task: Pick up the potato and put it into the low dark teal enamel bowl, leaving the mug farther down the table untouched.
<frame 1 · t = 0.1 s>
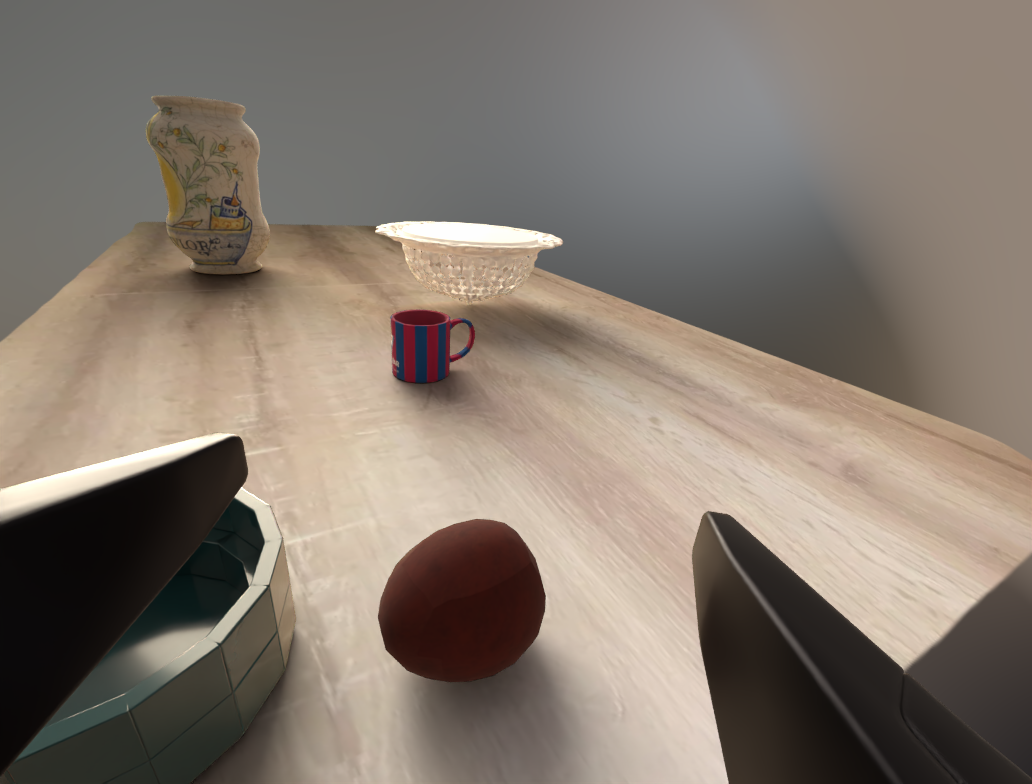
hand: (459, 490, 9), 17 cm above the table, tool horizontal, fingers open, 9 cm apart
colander: (468, 306, 88), on the table
potato: (462, 647, 25), on the table
vase: (227, 269, 99), on the table
bowl: (123, 674, 22), on the table
mug: (434, 372, 58), on the table
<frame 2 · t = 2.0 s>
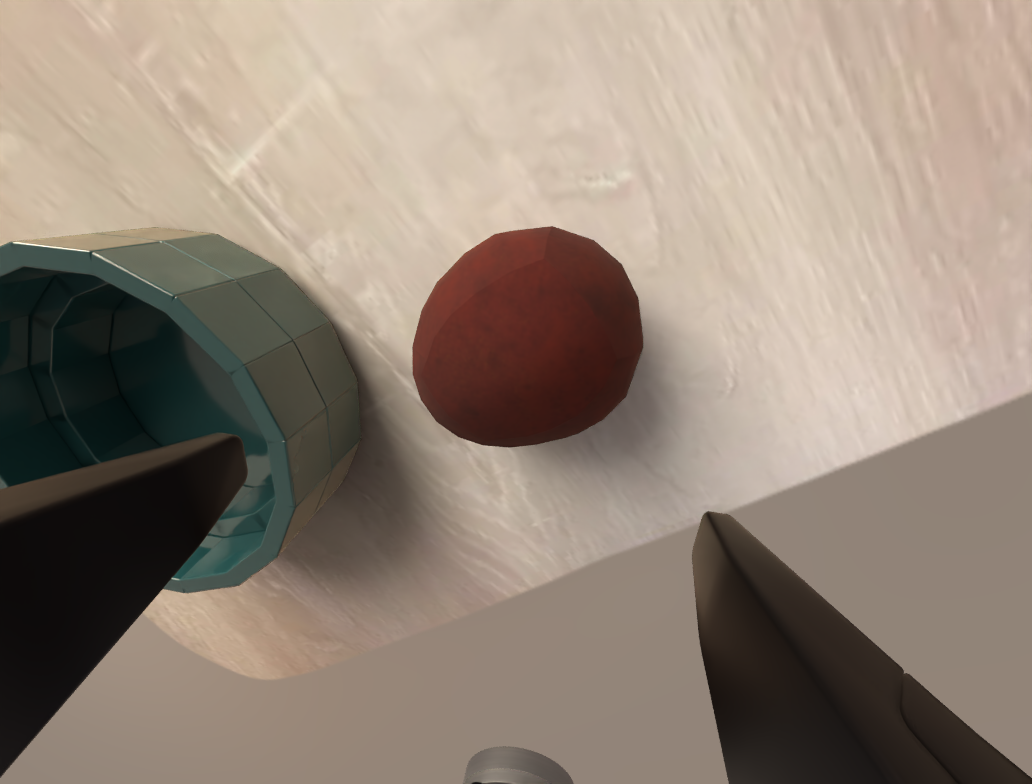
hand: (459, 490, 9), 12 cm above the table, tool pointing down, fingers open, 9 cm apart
potato: (536, 322, 20), on the table
bowl: (224, 384, 24), on the table
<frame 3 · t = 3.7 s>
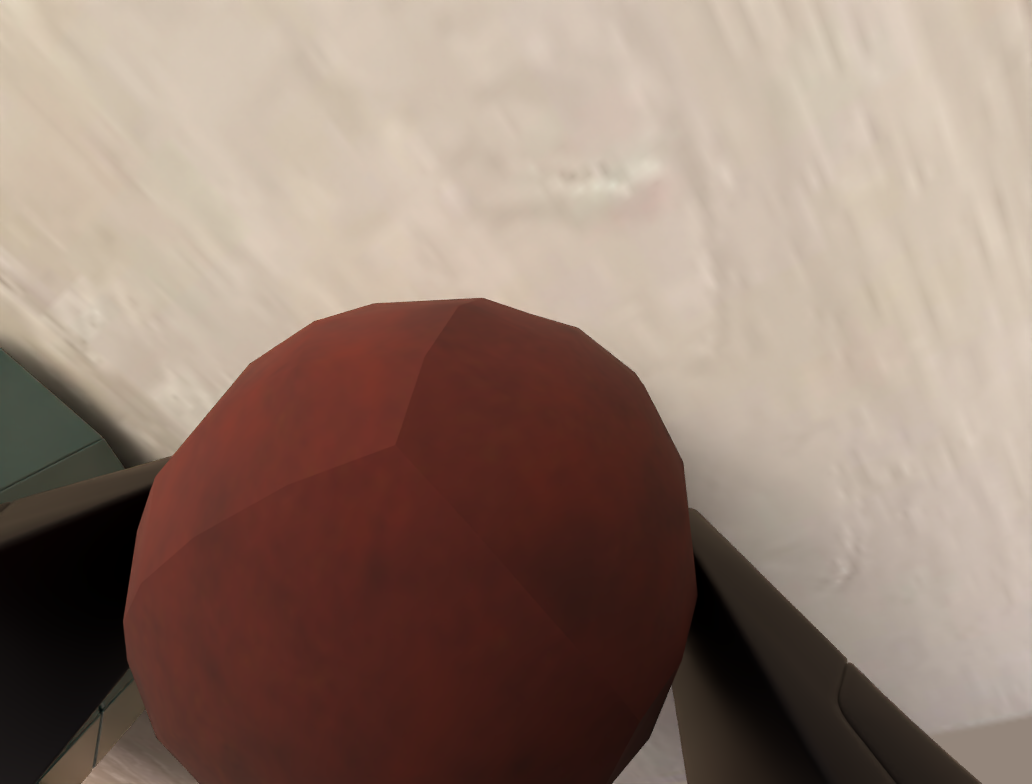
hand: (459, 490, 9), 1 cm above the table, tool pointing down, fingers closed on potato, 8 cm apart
potato: (475, 446, 11), on the table, touching gripper
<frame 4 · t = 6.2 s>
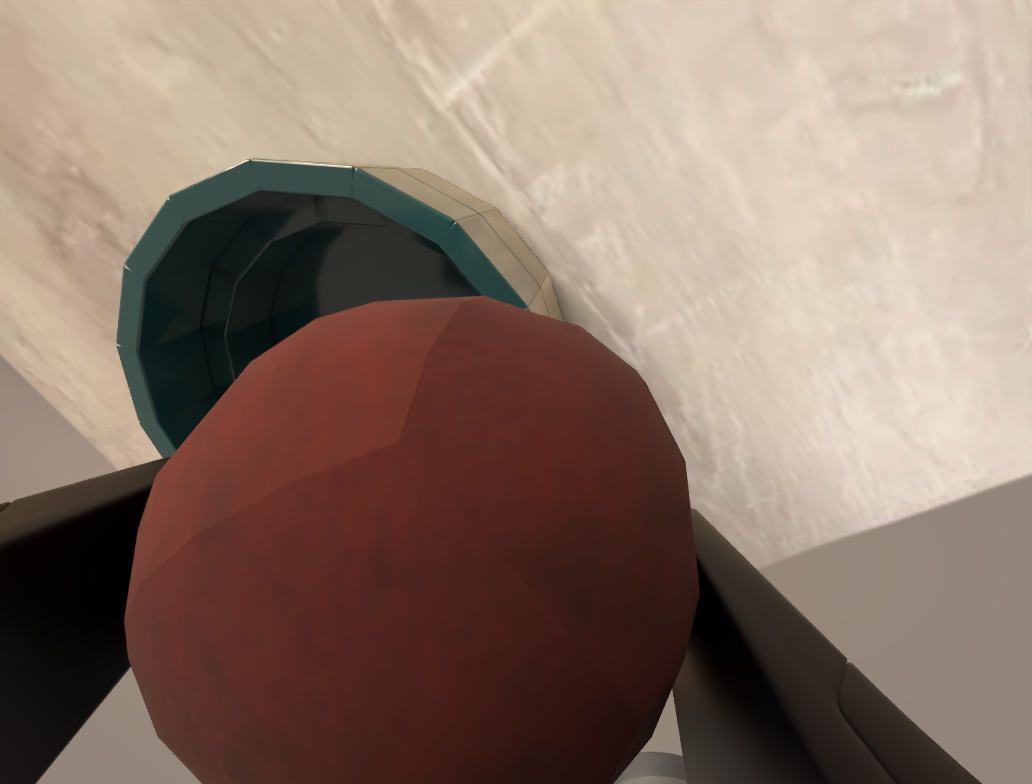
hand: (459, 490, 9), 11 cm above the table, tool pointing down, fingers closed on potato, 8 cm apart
potato: (476, 445, 11), point 10 cm above the table, touching gripper
bowl: (399, 352, 21), on the table
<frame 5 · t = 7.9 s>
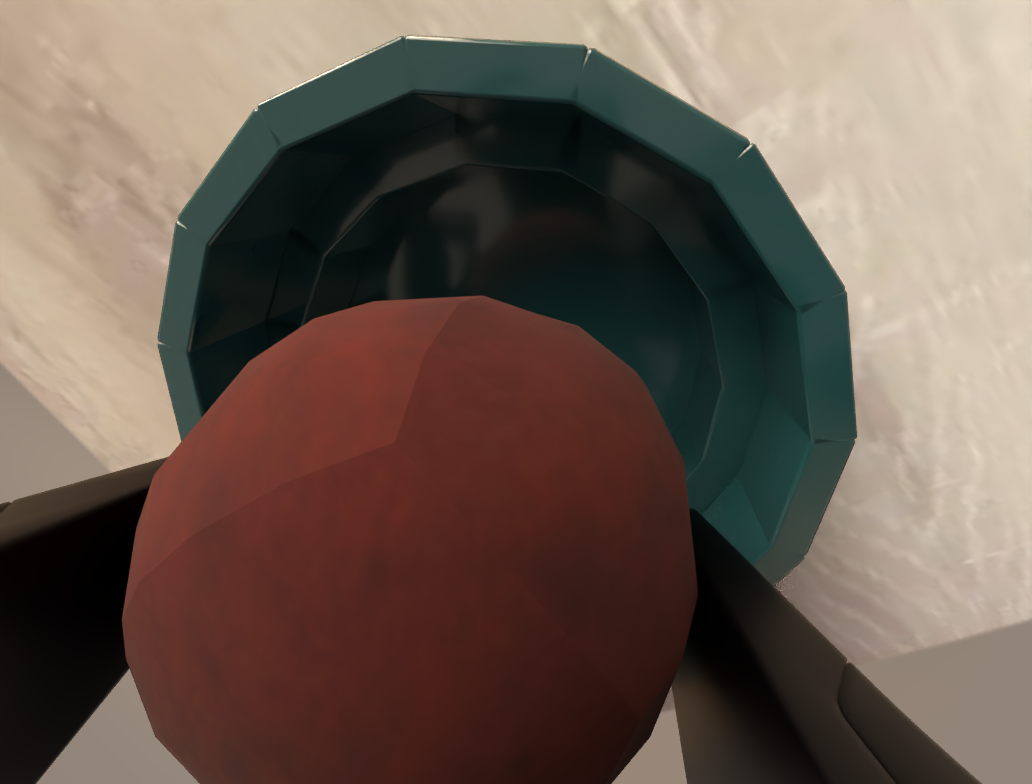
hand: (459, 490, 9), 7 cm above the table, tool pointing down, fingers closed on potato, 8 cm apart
potato: (475, 444, 11), point 6 cm above the table, touching gripper
bowl: (517, 355, 16), on the table
when the fingers open (5 cm above the table, at t = 9.1 s): potato drops 3 cm, resting on bowl.
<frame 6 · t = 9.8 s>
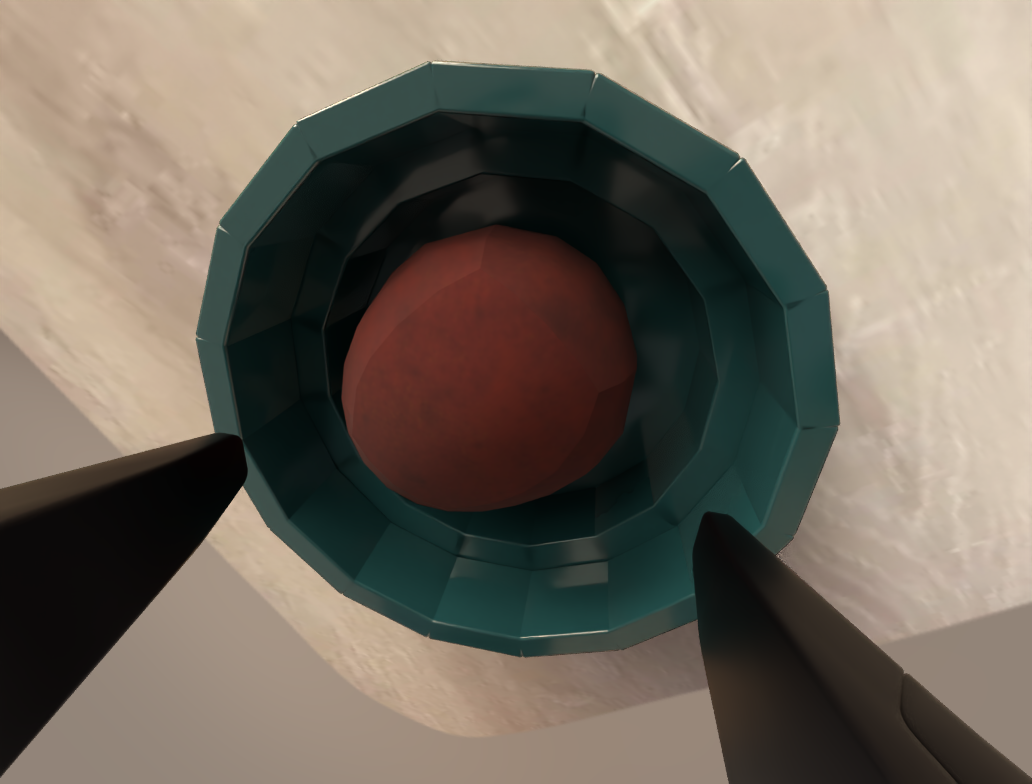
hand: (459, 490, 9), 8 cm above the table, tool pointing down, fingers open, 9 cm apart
potato: (509, 344, 16), resting on bowl
bowl: (525, 352, 17), on the table
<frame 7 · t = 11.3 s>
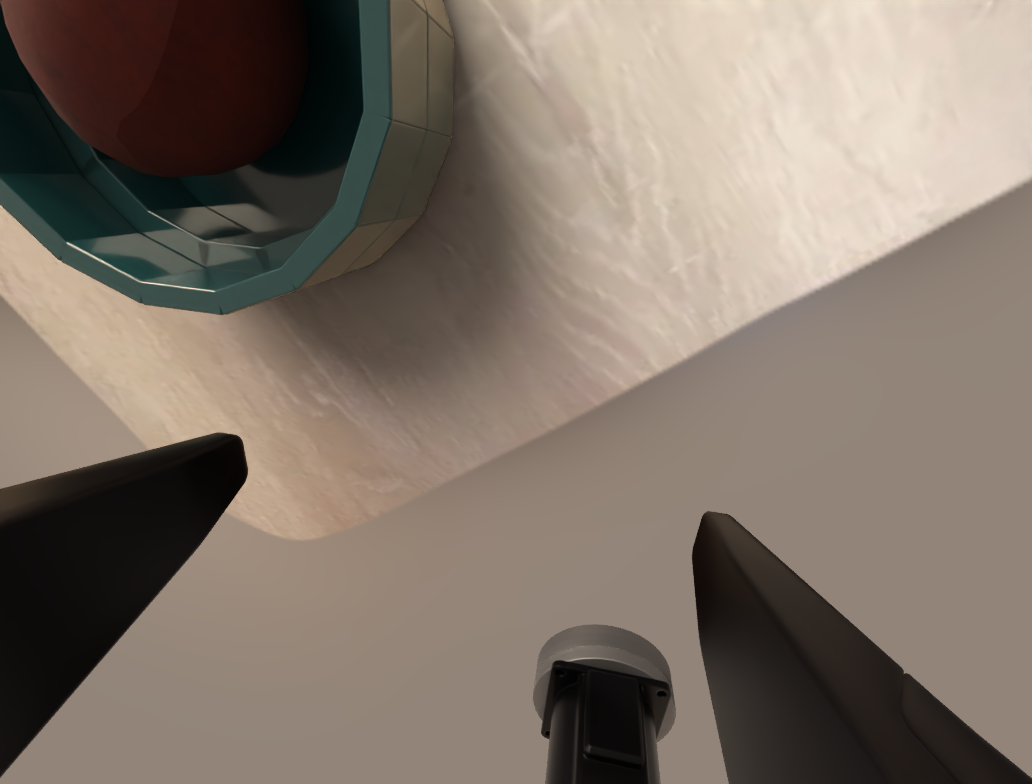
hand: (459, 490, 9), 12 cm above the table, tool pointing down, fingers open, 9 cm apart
potato: (248, 67, 18), resting on bowl
bowl: (268, 79, 18), on the table
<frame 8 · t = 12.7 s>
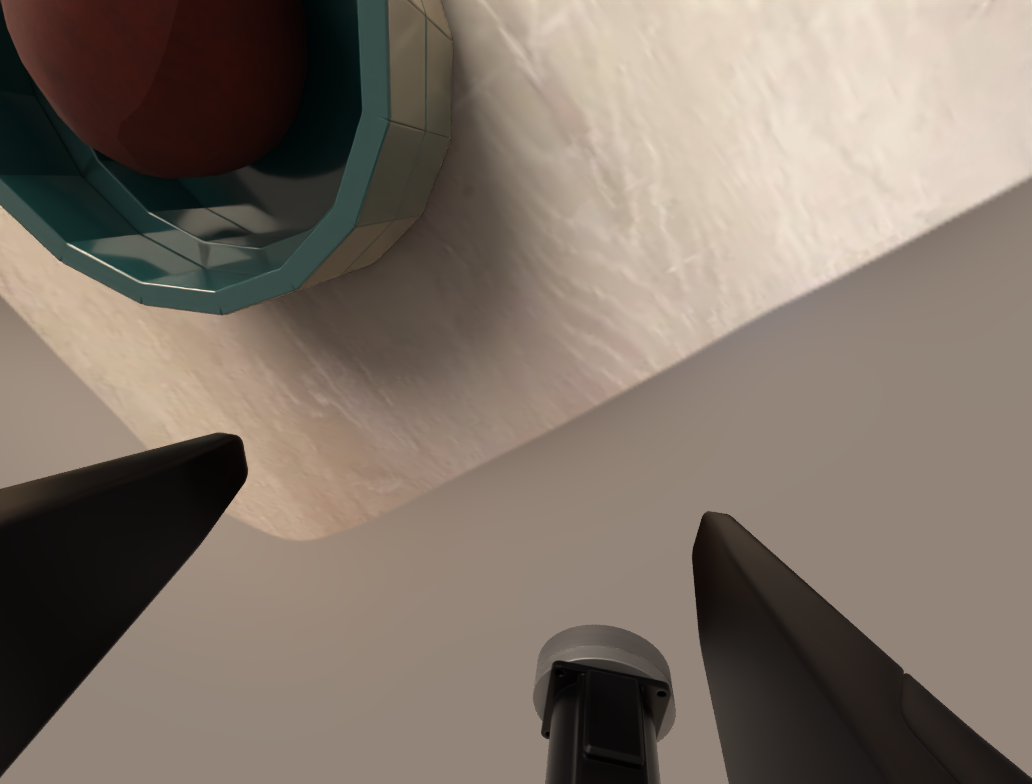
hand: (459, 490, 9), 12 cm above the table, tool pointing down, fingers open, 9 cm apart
potato: (247, 69, 18), resting on bowl
bowl: (267, 81, 18), on the table
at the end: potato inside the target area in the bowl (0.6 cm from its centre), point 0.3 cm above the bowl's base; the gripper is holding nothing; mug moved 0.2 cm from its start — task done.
